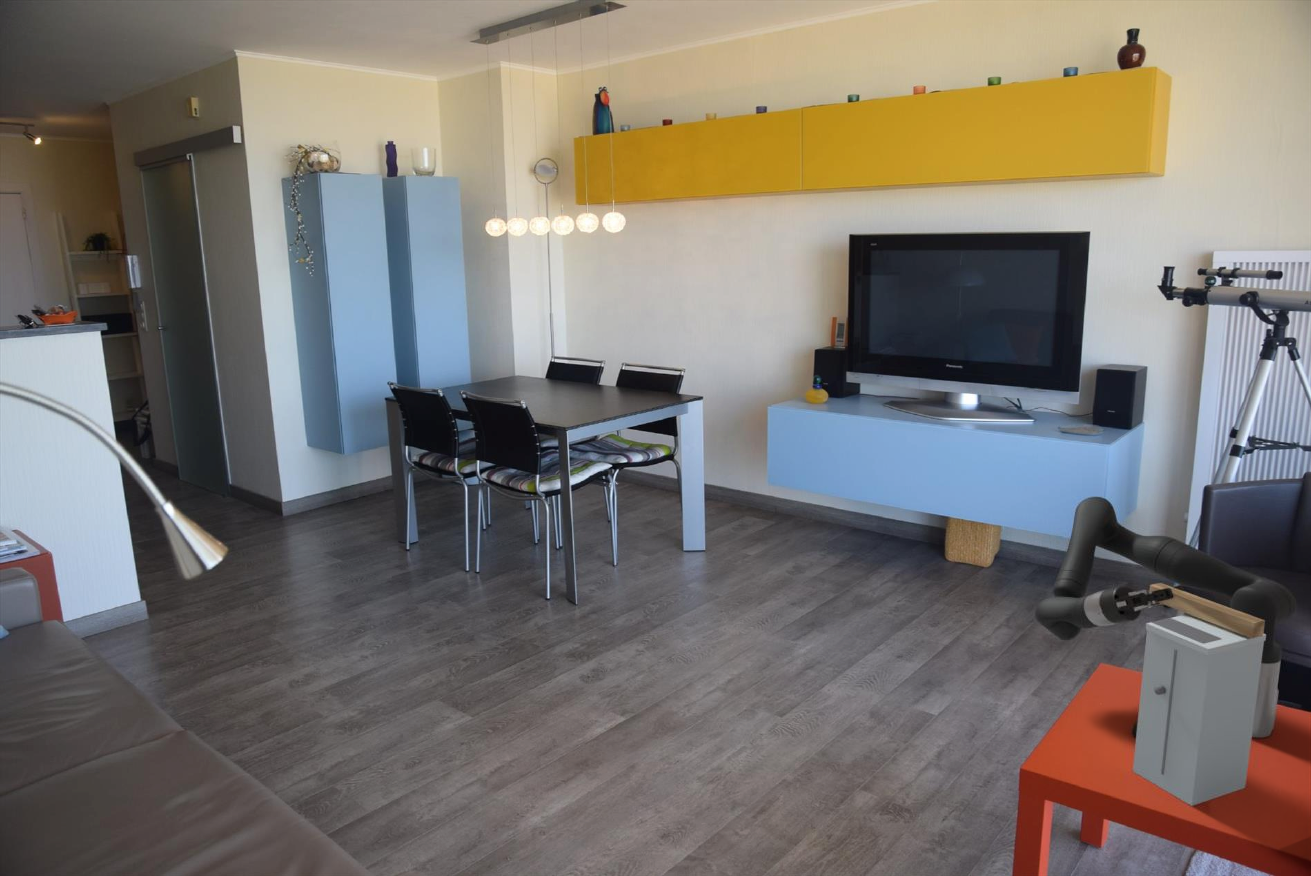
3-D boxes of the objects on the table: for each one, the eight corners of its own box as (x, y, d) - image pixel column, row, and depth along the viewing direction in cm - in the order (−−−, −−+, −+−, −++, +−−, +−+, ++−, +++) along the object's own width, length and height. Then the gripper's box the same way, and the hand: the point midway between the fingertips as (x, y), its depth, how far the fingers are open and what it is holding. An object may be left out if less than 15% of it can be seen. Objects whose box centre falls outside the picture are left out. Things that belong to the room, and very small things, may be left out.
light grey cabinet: (1186, 754, 191) (1202, 610, 184) (1246, 787, 179) (1266, 634, 173) (1128, 772, 185) (1143, 623, 178) (1187, 807, 173) (1205, 649, 166)
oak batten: (1159, 596, 191) (1160, 582, 190) (1263, 635, 171) (1264, 620, 170) (1148, 598, 190) (1150, 584, 189) (1252, 638, 170) (1254, 623, 169)
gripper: (1141, 618, 202) (1208, 604, 187) (1094, 628, 197) (1159, 615, 181) (1129, 585, 204) (1194, 568, 189) (1082, 594, 199) (1145, 578, 183)
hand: (1176, 591), depth 185 cm, fingers closed on oak batten, 3 cm apart
